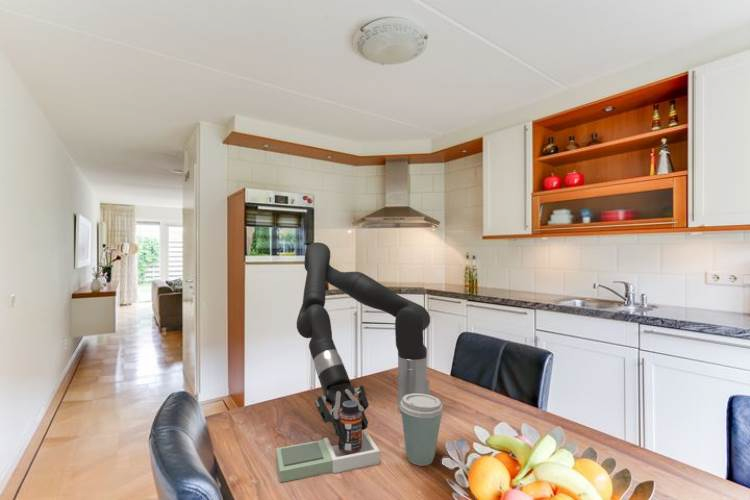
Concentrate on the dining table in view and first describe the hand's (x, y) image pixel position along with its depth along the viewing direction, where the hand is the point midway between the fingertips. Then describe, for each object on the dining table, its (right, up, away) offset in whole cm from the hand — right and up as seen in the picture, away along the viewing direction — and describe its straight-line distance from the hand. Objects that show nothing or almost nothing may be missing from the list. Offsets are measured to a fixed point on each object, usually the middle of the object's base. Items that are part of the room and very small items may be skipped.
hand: (353, 432), depth 90 cm
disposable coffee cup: (+17, -7, 0) cm, 18 cm away
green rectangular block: (-12, -7, -2) cm, 14 cm away
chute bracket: (-1, -6, +1) cm, 7 cm away
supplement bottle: (-1, -5, +2) cm, 5 cm away
